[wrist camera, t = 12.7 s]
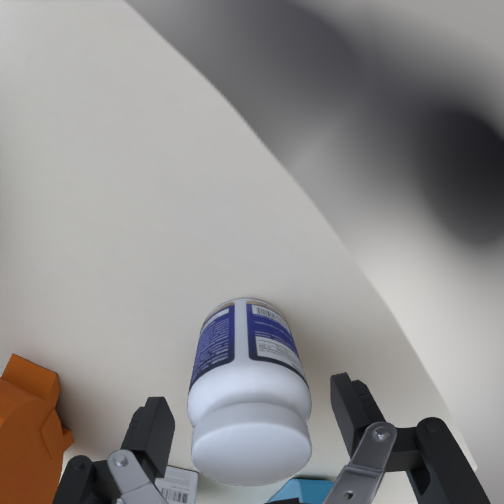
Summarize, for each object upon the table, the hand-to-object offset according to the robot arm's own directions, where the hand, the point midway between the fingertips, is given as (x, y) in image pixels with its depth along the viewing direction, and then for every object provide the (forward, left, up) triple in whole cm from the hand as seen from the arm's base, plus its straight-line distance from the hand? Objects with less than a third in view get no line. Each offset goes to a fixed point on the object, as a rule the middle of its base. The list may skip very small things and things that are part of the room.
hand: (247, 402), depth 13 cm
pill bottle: (0, 0, -6) cm, 6 cm away
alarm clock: (+6, -21, -6) cm, 23 cm away
